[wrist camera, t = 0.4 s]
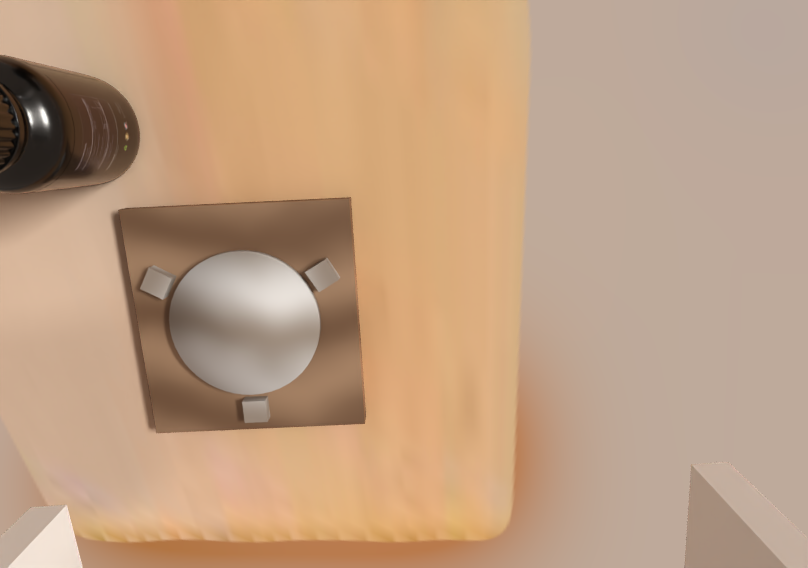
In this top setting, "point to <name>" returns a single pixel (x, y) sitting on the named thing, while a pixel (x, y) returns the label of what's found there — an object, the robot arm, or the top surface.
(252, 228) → the board
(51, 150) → the supplement bottle
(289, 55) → the top surface
